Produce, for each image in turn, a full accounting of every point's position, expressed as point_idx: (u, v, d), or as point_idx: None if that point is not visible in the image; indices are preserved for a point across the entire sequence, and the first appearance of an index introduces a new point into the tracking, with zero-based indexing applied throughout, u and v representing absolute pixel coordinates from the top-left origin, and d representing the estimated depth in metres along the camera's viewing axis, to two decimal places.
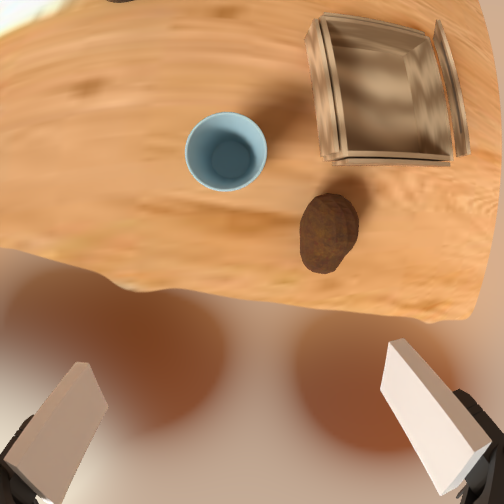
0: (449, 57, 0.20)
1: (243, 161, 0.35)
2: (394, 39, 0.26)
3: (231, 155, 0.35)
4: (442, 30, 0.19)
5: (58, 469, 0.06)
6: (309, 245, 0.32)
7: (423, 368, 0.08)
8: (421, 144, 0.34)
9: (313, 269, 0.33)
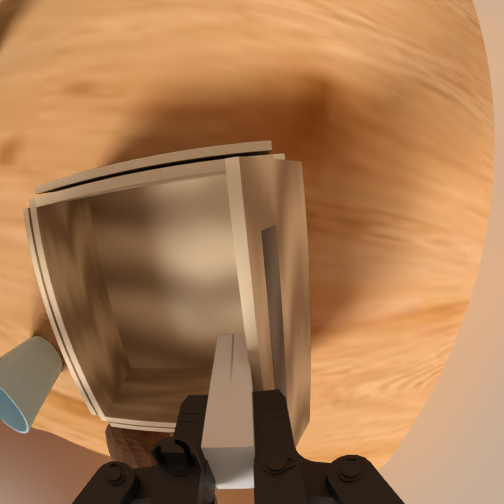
0: (246, 320, 0.10)
1: None
2: None
3: None
4: (238, 210, 0.09)
5: None
6: None
7: (242, 361, 0.10)
8: None
9: None
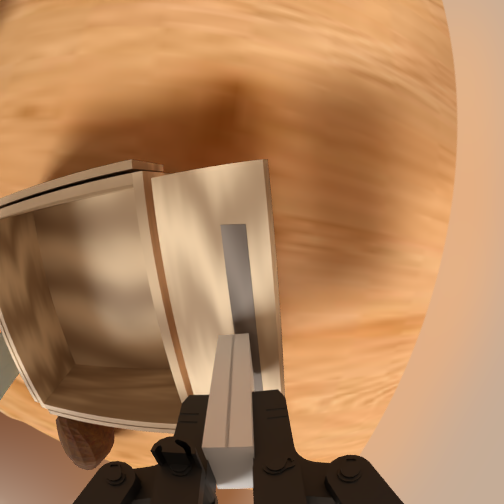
0: (273, 293, 0.12)
1: None
2: (91, 194, 0.16)
3: None
4: (269, 200, 0.11)
5: None
6: None
7: (242, 361, 0.10)
8: None
9: None
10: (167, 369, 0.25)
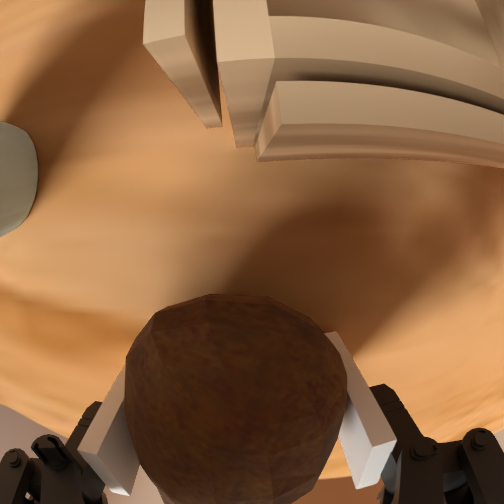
0: None
1: None
2: None
3: None
4: None
5: (129, 454, 0.07)
6: None
7: (345, 360, 0.10)
8: None
9: None
10: None
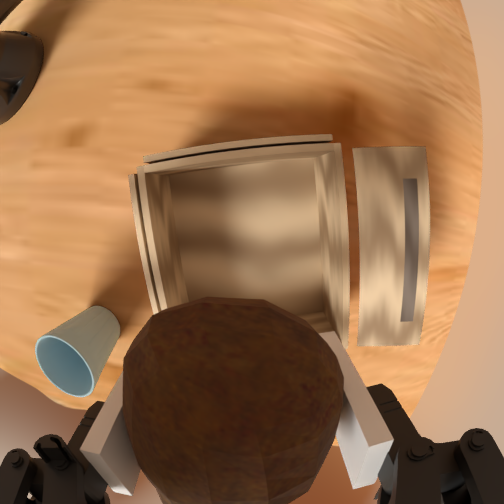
0: (429, 216, 0.19)
1: None
2: (277, 157, 0.23)
3: None
4: None
5: (132, 453, 0.07)
6: None
7: (343, 359, 0.10)
8: (324, 298, 0.30)
9: None
10: None
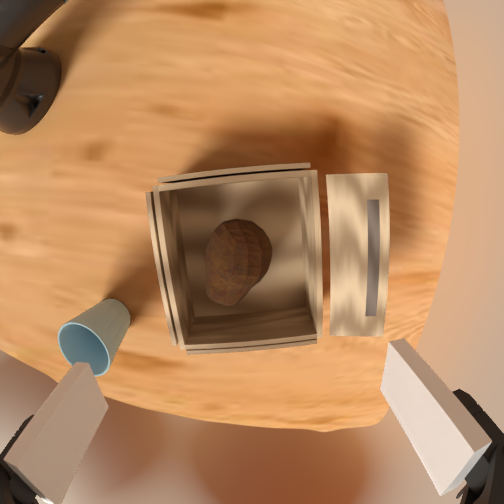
0: (388, 230, 0.25)
1: None
2: (266, 179, 0.29)
3: None
4: None
5: (58, 469, 0.06)
6: (208, 274, 0.30)
7: (423, 368, 0.08)
8: (305, 295, 0.36)
9: (212, 299, 0.30)
10: (279, 309, 0.37)
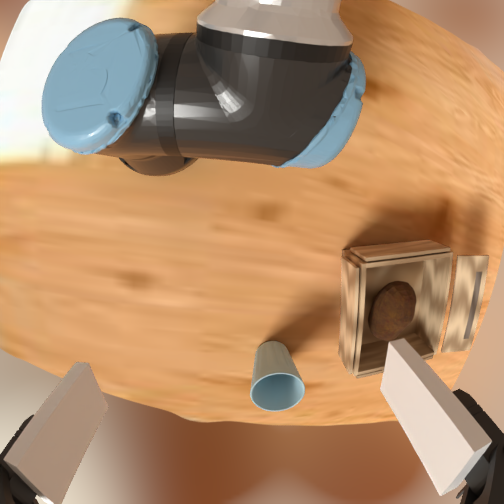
0: (483, 289, 0.33)
1: None
2: None
3: None
4: None
5: (58, 469, 0.06)
6: (381, 321, 0.38)
7: (423, 368, 0.08)
8: (418, 325, 0.45)
9: (380, 338, 0.39)
10: (400, 336, 0.46)
